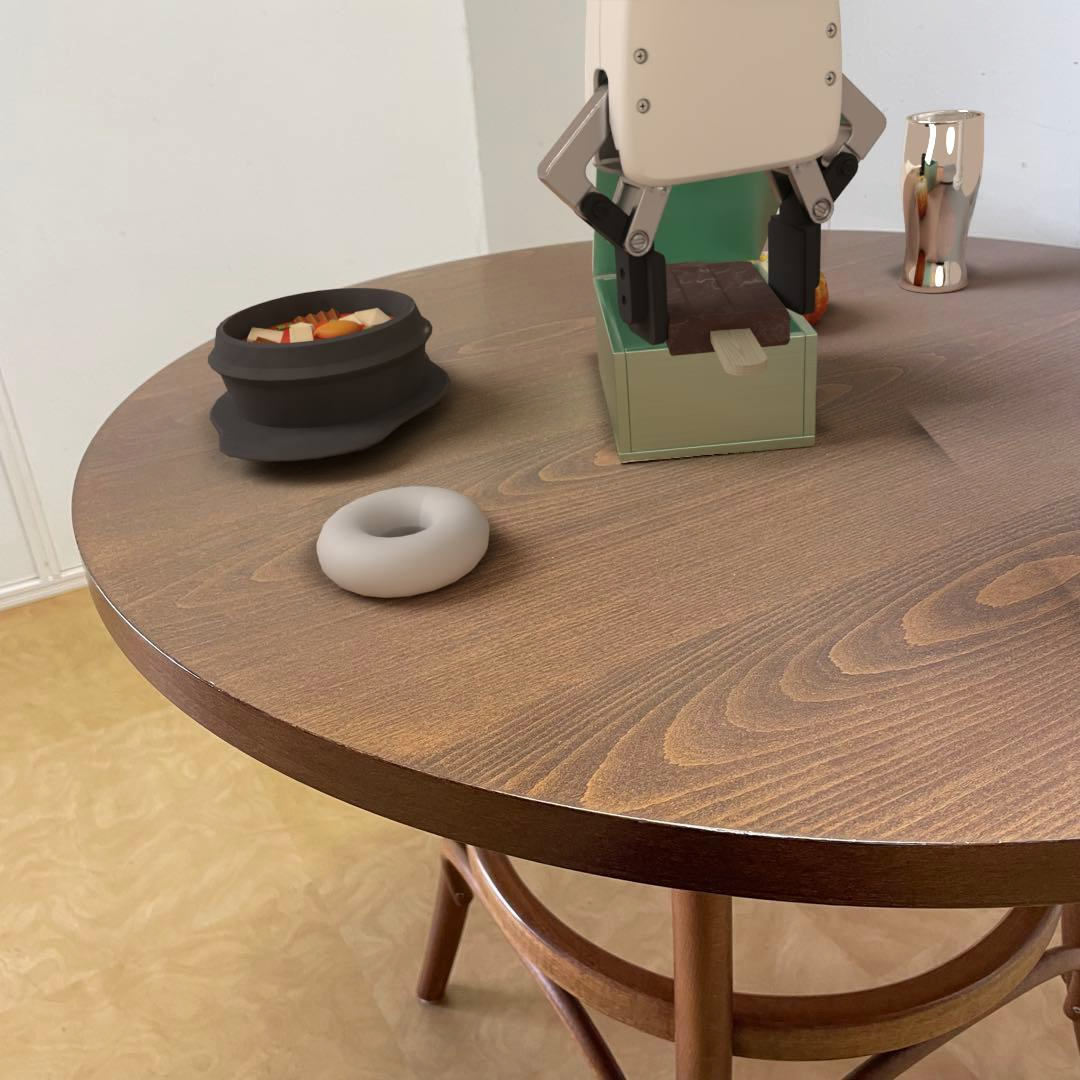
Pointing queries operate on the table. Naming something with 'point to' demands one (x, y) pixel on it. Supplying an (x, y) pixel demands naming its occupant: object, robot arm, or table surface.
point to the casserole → (321, 373)
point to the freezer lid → (702, 221)
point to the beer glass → (939, 196)
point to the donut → (403, 541)
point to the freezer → (702, 392)
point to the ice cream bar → (724, 314)
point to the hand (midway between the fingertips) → (720, 318)
